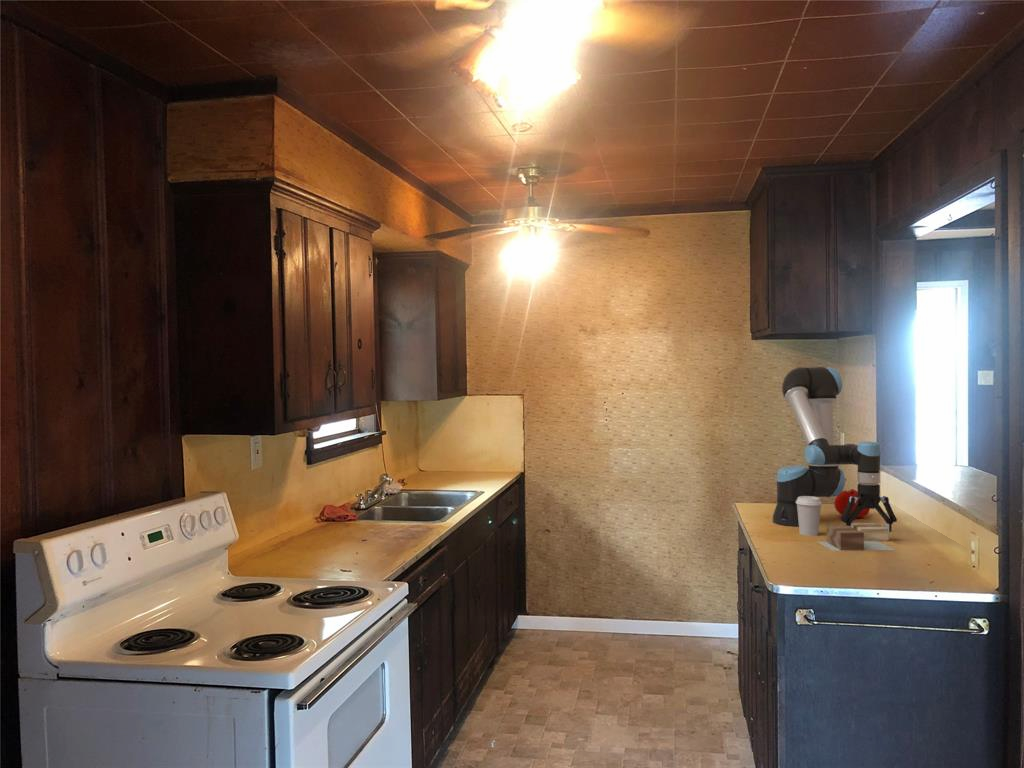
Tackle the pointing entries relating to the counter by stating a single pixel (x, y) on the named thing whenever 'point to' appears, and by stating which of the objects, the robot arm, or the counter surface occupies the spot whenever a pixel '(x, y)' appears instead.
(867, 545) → the board
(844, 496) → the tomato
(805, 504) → the coffee cup
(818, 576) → the counter surface
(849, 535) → the walnut base brick
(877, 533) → the oak brick
